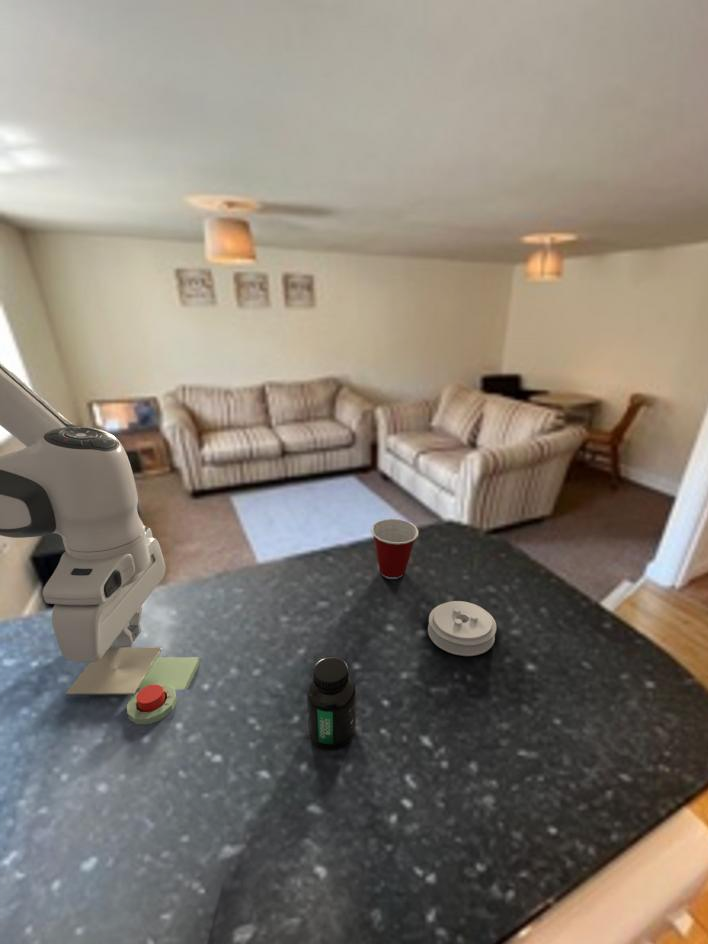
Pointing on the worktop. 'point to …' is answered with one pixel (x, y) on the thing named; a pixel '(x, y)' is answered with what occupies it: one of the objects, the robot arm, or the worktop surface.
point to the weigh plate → (116, 672)
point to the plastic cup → (393, 545)
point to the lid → (462, 628)
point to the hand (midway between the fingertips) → (130, 639)
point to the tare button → (150, 698)
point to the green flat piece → (164, 686)
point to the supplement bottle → (331, 704)
